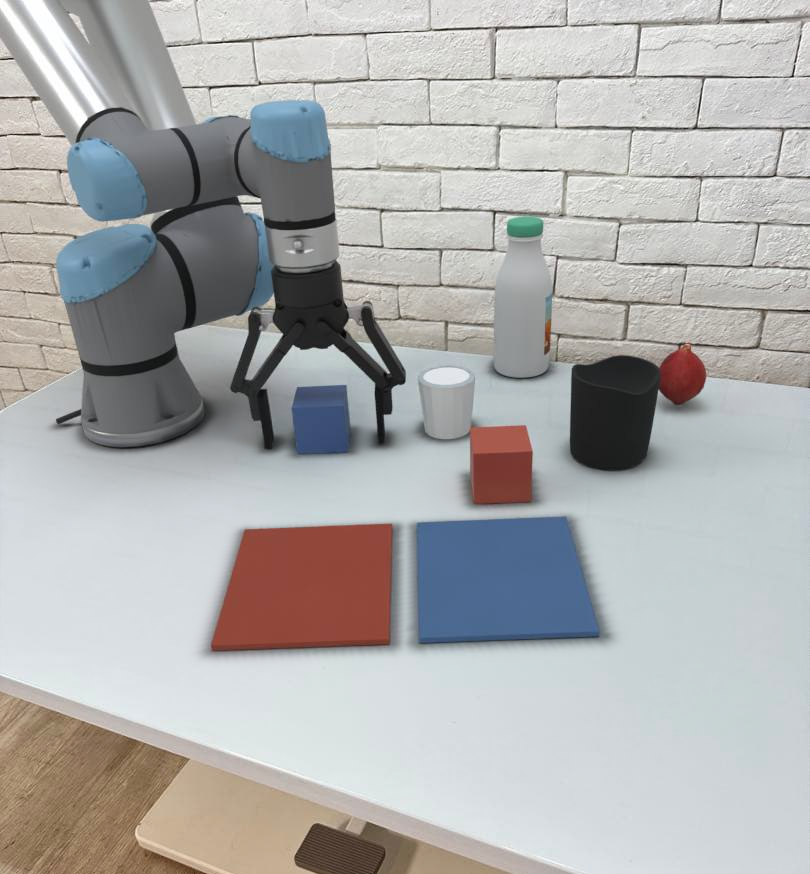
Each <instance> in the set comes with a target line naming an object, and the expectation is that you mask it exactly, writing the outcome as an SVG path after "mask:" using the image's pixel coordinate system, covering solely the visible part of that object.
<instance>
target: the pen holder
mask: <svg viewBox="0 0 810 874" xmlns="http://www.w3.org/2000/svg"><path fill="white" fill-rule="evenodd" d="M659 367H660V366H658V365H657V364H656V363H654V362H652V361H650V360H648V359H645V358H642V357H638V356H634V355H626V354H619V355H612V356H609V357H607V358H604V359H601V360H599V361H597V362H593V363H588V364H584V363H583V364H582V363H576V364H574V365H572V367H571V375H570V408H569V409H570V411H569V412H570V413H569V414H570V415H569V450H570V454H571V455H572V456H573V458H574V459H575V460H576V461H578V462H579V463H581V464H582V465H584V466H587V467H590V468H594V469H598V470H605V471H606V470H607V471H619V470H626V469H631V468H634V467H635V466H638V465H639V464H641V463H642V462H643V461H644V460H645V459H646V457H647V456H648V454H649V453H648V452H649V448H650V442H651V436H652V432H653V426H654V420H655V413H656V408H657V401H658V395H659V384H660V378H661V370H660V369H659Z"/></svg>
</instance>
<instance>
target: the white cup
mask: <svg viewBox="0 0 810 874" xmlns="http://www.w3.org/2000/svg"><path fill="white" fill-rule="evenodd" d="M417 382H418V383H417V384H418V389H419V396H420V403H421V404H420V405H421V409H422V411H421V412H422V418H423V426H424V432H425V433H426V434H427V435H428V436H429V437H431V438H434V439H438V440H439V439H440V440H454V439H460V438H463V437H464V436H467V435H468V434H470V428H472V420H473V419H472V418H473V408H474V397H475V385H476V374H475V372H474V371H473V370H471V369H470V368H468V367H465V366H461V365H453V364H450V365H448V364H447V365H446V364H445V365H437V366H432V367H429V368H426V369H424V370H422V371H421V372H420V373H419V374H418V375H417Z"/></svg>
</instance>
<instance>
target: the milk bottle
mask: <svg viewBox="0 0 810 874" xmlns="http://www.w3.org/2000/svg"><path fill="white" fill-rule="evenodd" d="M543 232H544V220H543V219H542V218H539V217H536V216H517V217H513V218H509V219H508V220H507V223H506V234H507V235H506V239H507V240H508V245H507V249H506V253H505V256H504V258H503V261H502V263H501V265H500V267H499V270H498V272H497V274H496V275H497V276H496V279H495V284H494V297H493V299H494V300H493V367H494V369H495V371H496V372H497V373H498V374H501V375H502V376H506V377H510V378H521V379H522V378H532V377H536V376H540V375H542V374H544V373H545V372H546V371H547V370H548V369H549V366H550V358H551V338H552V334H551V333H552V314H553V313H552V312H553V282H552V275H551V272H550V269H549V266H548V265H547V261H546V259H545V257H544V252H543V248H542V239H543V238H544V236H543Z"/></svg>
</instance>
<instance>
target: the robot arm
mask: <svg viewBox="0 0 810 874" xmlns="http://www.w3.org/2000/svg"><path fill="white" fill-rule="evenodd" d="M69 13H70V14H72V15H73V16H76V17H77V18H78V19H79V21H80V23H81V24H80V25H81V26H82V28H83V31H84V34H85V36H84V34H83V33H82V31H81V30H80V28H79V27H78V25H77V24H76V23H75V21H74V20H73V18H72V17H71V15H70V14H69ZM86 38H87V39H86ZM164 39H165V38H164V36H163V34H162V31H161V29H160V26H159V24H158V21H157V19H156V16H155V14H154V11H153V8H152V6H151V3H150V0H0V40H1V41H2V44H3V45H4V46H5V48H6V49H7V50H8V52H9V53H10V56H11V57H12V59H14V61H15V63H16V64H17V66H18V67H19V68H20V70H21V72H22V74H23V75H24V76H25V78H26V79H27V81H28V82H29V84H30V85H31V87H32V88H33V90H34V91H35V93H36V94H37V96H38V97H39V99H40V100H41V102H42V103H43V105H44V107H45V108H46V109H47V111H48V112H49V114H50V116H51V117H52V119H53V120H54V121H55V123H56V124H57V126H58V127H59V129H60V131H61V132H62V134H63V135H64V136H65V138H66V140H67V141H68V143H69V144H70V147H69V149H68V150H67V151H68V152H67V156H66V167H67V168H66V169H67V174H68V179H69V184H70V186H71V188H72V190H73V191H74V193H75V198H76V201H77V203H78V204H79V206H80V208H81V210H83V212H84V213H85V214H86V215H87V216H88V217H89V218H91V219H92V220H93V221H96V222H101V223H103V222H114V221H121V220H135V219H137V218H140V217H143V216H148V215H153V216H152V218H151V220H150V222H149V226H148V225H145V224H141V223H125V224H121V225H118V226H113V225H112V226H107V227H103V228H100V229H96V230H94V231H90V232H87V233H85V234H83V235H80V236H79V237H77V238H75V239H73V240H70V242H68V243H67V244H65V246H64V247H62V249H60V250H59V252H58V254H57V256H56V259H55V269H56V273H57V279H58V284H59V294H60V298H61V299H62V301H63V302H64V306H65V311H66V314H67V317H68V321H69V324H70V325H69V326H70V328H71V333H72V336H73V338H74V342H75V346H76V350H77V354H78V358H79V361H80V365H81V368H82V372H83V381H82V382H83V383H82V395H81V406H80V407H81V408H80V409H77V410H75V411H72V412H70V413H67V414H64V415H63V416H62V415H61V416H60V417H57V418H56V419H55V422H56V424H57V425H60V424H63V423H65V422H67V421H70V420H73V419H75V418H78V417H80V421H81V422H80V423H81V426H82V429H83V432H84V435H85V437H86V438H87V439H88V440H89V441H91V442H92V443H95V444H98V445H101V446H106V447H113V448H135V447H144V446H150V445H155V444H159V443H163V442H166V441H170V440H173V439H176V438H178V437H180V436H182V435H185V434H186V433H188V432H190V431H191V430H192V429H194V428H195V427H197V426H198V425H200V423H201V421H202V420H203V419H204V417H205V406H204V402H203V397H202V394H200V391H199V390H198V388H197V387H196V384H195V383H194V380H193V379H192V377H191V376H190V373H188V370H187V368H186V367H185V364H184V363H183V362H182V359H180V355H179V352H178V346H177V342H176V337H175V336H176V333H178V332H182V331H185V330H189V329H192V328H195V327H199V326H202V325H206V324H209V323H213V322H216V321H219V320H223V319H226V318H230V317H233V316H237V317H241V316H243V315H245V314H246V313H247V312H249V315H248V316H247V317H248V318H247V327H248V328H247V329H248V331H247V333H248V334H247V337H246V339H245V342H244V346H243V348H242V351H241V355H240V357H239V360H238V363H237V366H236V368H235V372H234V373H233V374H234V375H233V378H232V379H231V383H230V386H229V390H230V391H231V393H233V394H238V393H240V394H243V395H245V396H246V397H247V399H248V405H249V411H250V412H249V413H250V417H251V419H252V421H253V422H260V426H261V432H262V438H263V439H262V440H263V445H264V449H265V450H267V449H269V450H270V449H272V448H273V444H274V440H275V435H274V434H275V433H274V428H273V421H272V414H271V408H270V407H271V406H270V401H269V395H268V389H267V388H263V387H264V385H265V384H266V383H267V381H268V380H269V379H270V377H271V376H272V374H273V373H274V372H275V370H276V369H277V367H278V366H279V364H280V363H281V362H282V360H283V359H284V358H285V356H287V354H288V353H289V352H290V351H291V349H292V347H293V346H294V347H295V348H298V349H299V350H300V351H309V350H311V349H319V350H328V348H330V347H332V346H334V347H335V348H336V349H337V350H338V351H339V352H341V353H343V354H344V355H345V356H346V357H347V358H348V359H349V360H350V361H351V362H353V364H354V365H355V366H357V367H358V369H360V370H361V371H362V372H363V373H364V374H365V375H366V376H367V377H368V378H369V379H370V380H371V381H372V382H373V383H374V393H373V394H374V404H375V405H374V406H375V418H376V430H377V444H385V443H386V426H385V416H390V415H392V413H393V408H394V407H393V391H392V390H393V389H394V388H395V387H397V386H403V385H405V383H406V382H407V371H406V369H405V367H404V365H403V364H402V362H401V360H400V359H399V357H398V355H397V353H396V352H395V350H394V349H393V347H392V345H391V344H390V341H389V340H388V338H387V336H386V335H385V334H384V332H383V330H382V328H381V327H380V325H379V323H378V322H377V320H376V315H375V311H374V307H373V306H374V305H373V303H372V302H371V301H369V300H365V301H363V302H362V304H361V305H355V306H354V305H353V306H347V304H346V302H345V299H344V288H343V277H342V266H341V264H340V263H339V261H337V260H338V259H339V257H340V246H339V245H340V243H339V233H338V223H337V221H338V220H337V217H336V202H335V192H334V191H335V190H334V176H333V163H332V152H331V151H332V144H331V140H330V137H329V133H328V125H327V118H326V112H325V110H324V107H323V106H322V105H321V104H320V103H319V102H317V101H315V100H310V99H301V100H298V99H286V100H285V99H284V100H273V101H267V102H263V103H259V104H256V105H254V106H253V107H252V108H251V110H250V114H249V116H250V117H249V118H245V117H240V116H238V115H235V114H229V115H225V116H224V115H223V116H213V117H210V118H207V119H205V120H204V121H202V122H201V123H197V122H196V118H195V116H194V114H193V111H192V109H191V106H190V104H189V101H188V98H187V96H186V93H185V91H184V88H183V85H182V82H181V81H180V77H179V76H178V73H177V70H176V67H175V65H174V62H173V60H172V57H171V55H170V52H169V50H168V46H167V45H166V44H167V43H166V42H165V40H164ZM241 196H248V197H252V198H257V199H260V203H261V209H262V216H261V215H259V214H258V213H254V212H250V211H247V212H244V209H243V207H242V204H241V202H240V199H239V197H241ZM272 297H274V305H275V306H274V307H275V308H274V310H262V309H261V307H264V306H265V305H266V304H268V302H269V301H270V300H271V299H272ZM350 319H352V320H354V321H355V323H356V325H357V326H359V327H363V330H364V332H365V334H366V336H367V338H368V339H369V341H370V343H371V344H372V346H373V348H374V349H375V351H376V352H377V354H378V355H379V357H380V359H381V361H382V362H383V364H384V365H385V367H386V369H387V370H388V371H386V370H385V369H384V367H382V366H381V365H380V364H379V363H378V362H377V361H376V360H375V359H374V358H373V357H372V356H371V355H370V354H369V353H368V352H367V351H366V350H365V349H364V348H363V347H362V346H361V345H360V344H359V343H358V342H357V341H356V340H355V339H354V338H353V337H352V335H351V334H350V332H349V331H348V330H347V329H345V327H346V325H347V324H348V322H349V320H350ZM270 324H273V325H274V326H275V327H276V328H277V329H278V330H279V332H280V333H282V336H281V337H280V338H279V340H278V342H277V343H276V344H275V346H274V347H273V349H272V350H271V352H270V353H269V355H268V356H267V357H266V359H265V360H264V361H263V363H262V365H260V367H259V368H258V370H257V371H256V372H255V374H254V376H253V377H252V378H251V379H247V378H246V377H247V374H248V371H249V369H250V366H251V365H250V364H251V362H252V360H253V357H254V353H255V352H256V349H257V346H258V343H259V340H260V337H261V335H262V332H265V331H266V330H267V329H268V327H269V325H270ZM388 372H389V373H388Z"/></svg>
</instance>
